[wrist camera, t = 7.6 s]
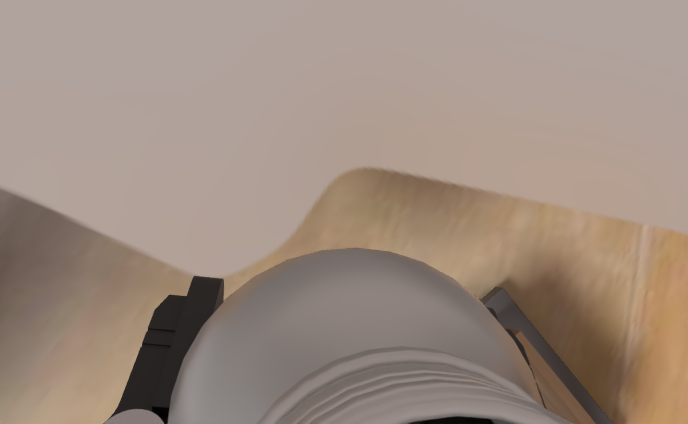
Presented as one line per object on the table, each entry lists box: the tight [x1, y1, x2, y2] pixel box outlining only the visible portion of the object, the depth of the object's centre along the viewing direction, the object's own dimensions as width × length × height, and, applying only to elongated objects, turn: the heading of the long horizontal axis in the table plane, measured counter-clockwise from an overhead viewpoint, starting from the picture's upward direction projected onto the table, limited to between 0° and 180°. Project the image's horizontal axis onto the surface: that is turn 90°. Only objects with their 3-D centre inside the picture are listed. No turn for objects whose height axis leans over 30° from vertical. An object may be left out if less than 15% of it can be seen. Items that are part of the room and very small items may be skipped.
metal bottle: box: [168, 248, 573, 424], centre depth 13 cm, size 6×7×20 cm
